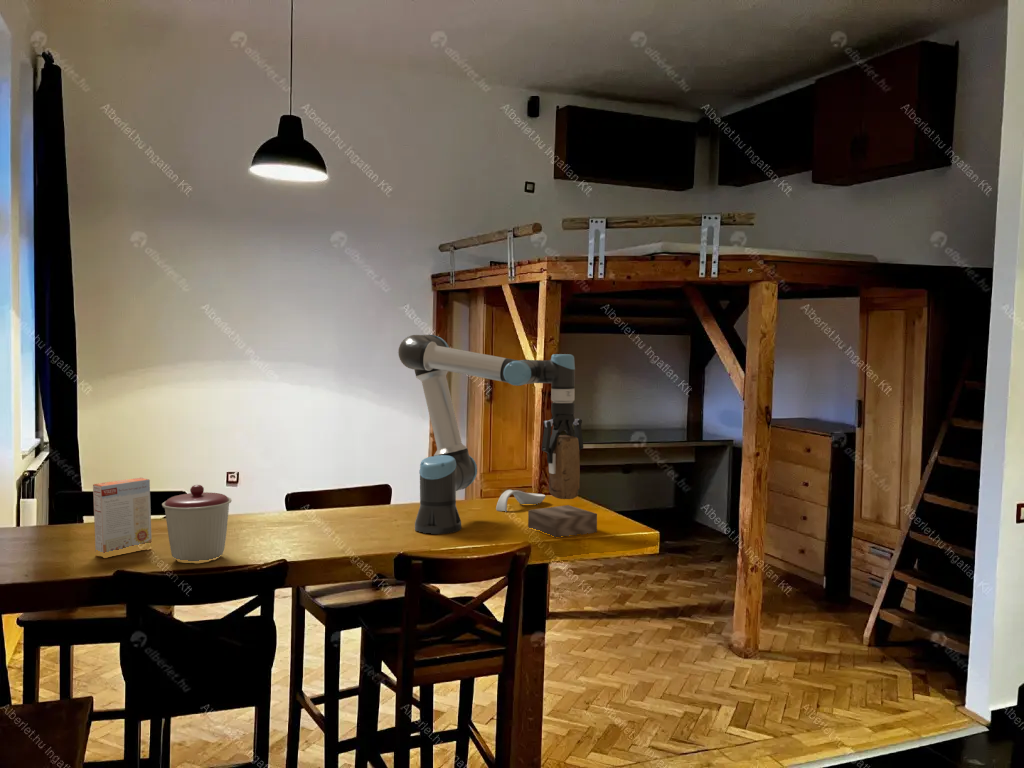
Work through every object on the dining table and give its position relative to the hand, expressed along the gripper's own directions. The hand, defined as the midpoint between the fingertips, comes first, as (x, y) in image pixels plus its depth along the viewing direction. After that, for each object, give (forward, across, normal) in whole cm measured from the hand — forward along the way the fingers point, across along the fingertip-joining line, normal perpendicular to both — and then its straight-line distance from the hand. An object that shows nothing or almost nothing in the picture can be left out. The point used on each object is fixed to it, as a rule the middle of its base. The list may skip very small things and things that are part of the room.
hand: (562, 472), depth 262 cm
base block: (+19, 0, 0) cm, 19 cm away
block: (+8, 0, 0) cm, 8 cm away
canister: (+19, -108, +23) cm, 112 cm away
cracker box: (+19, -125, +42) cm, 133 cm away
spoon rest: (+19, +9, +40) cm, 45 cm away
